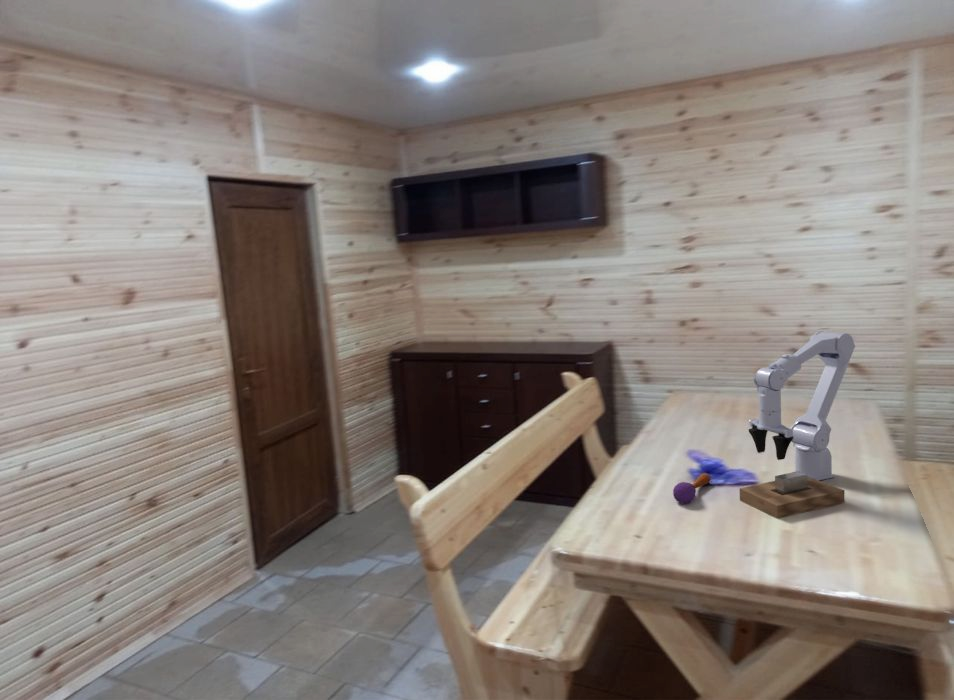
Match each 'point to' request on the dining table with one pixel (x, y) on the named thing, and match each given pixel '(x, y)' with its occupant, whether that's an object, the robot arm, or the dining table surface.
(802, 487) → the tall grey cuboid
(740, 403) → the dining table surface
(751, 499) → the well
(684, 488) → the purple and brown maraca
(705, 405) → the dining table surface
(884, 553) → the dining table surface
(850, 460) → the dining table surface
